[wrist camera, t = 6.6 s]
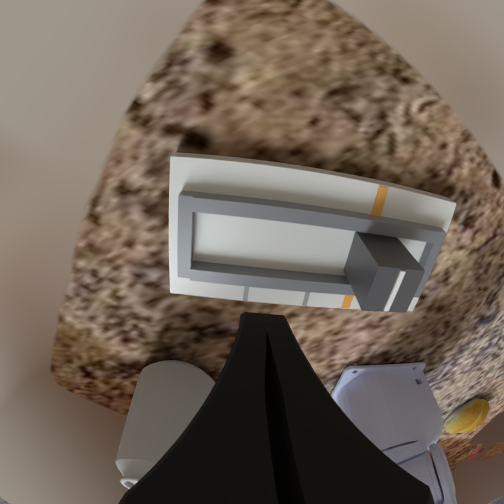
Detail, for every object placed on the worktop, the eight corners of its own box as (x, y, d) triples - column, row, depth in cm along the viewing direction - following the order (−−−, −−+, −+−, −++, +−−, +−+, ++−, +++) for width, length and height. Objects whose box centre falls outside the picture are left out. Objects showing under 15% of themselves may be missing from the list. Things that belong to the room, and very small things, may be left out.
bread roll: (469, 394, 32) (479, 414, 28) (490, 396, 34) (498, 413, 30) (432, 425, 36) (439, 444, 32) (457, 424, 37) (464, 440, 34)
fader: (396, 237, 17) (425, 272, 14) (383, 274, 19) (406, 313, 15) (355, 231, 17) (379, 267, 14) (343, 270, 19) (362, 311, 15)
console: (447, 197, 17) (464, 209, 15) (406, 301, 22) (417, 319, 20) (175, 152, 16) (165, 160, 14) (173, 282, 20) (166, 301, 19)
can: (130, 376, 26) (100, 482, 16) (164, 341, 23) (131, 473, 13) (192, 407, 29) (179, 508, 18) (234, 378, 26) (230, 500, 15)
